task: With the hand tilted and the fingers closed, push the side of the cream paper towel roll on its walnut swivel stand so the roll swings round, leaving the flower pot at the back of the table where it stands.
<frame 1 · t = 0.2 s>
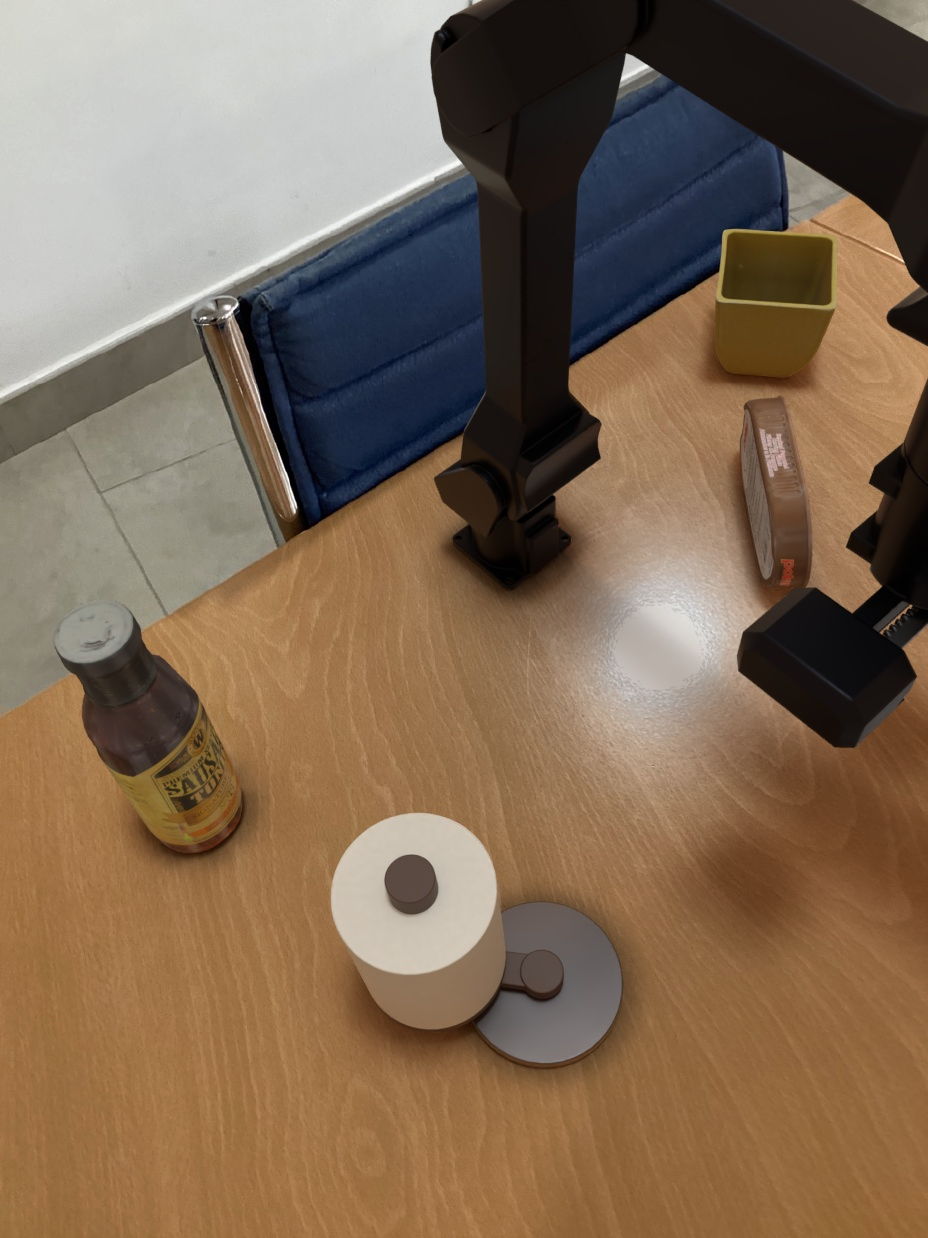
hand: (880, 671, 53), 15 cm above the table, tool pointing down, fingers open, 9 cm apart
sauce bottle: (202, 810, 68), on the table
paper towel roll: (443, 930, 54), point 8 cm above the table, hinge at 0.0°
swivel base: (542, 984, 60), on the table
flower pot: (759, 359, 88), on the table
tin: (763, 531, 78), on the table
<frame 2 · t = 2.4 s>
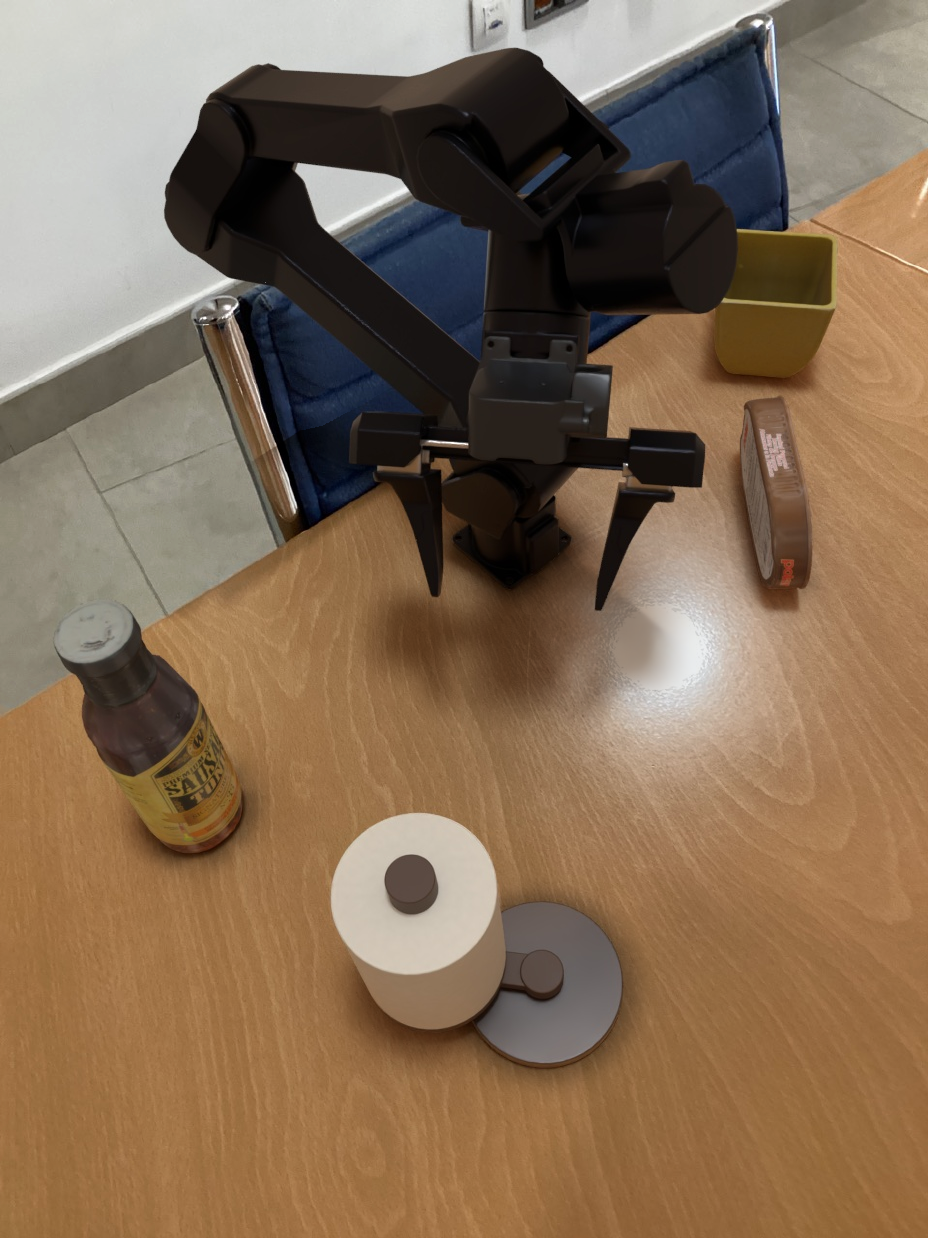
hand: (516, 602, 60), 13 cm above the table, tool tilted 45°, fingers open, 9 cm apart
nothing on the table moved.
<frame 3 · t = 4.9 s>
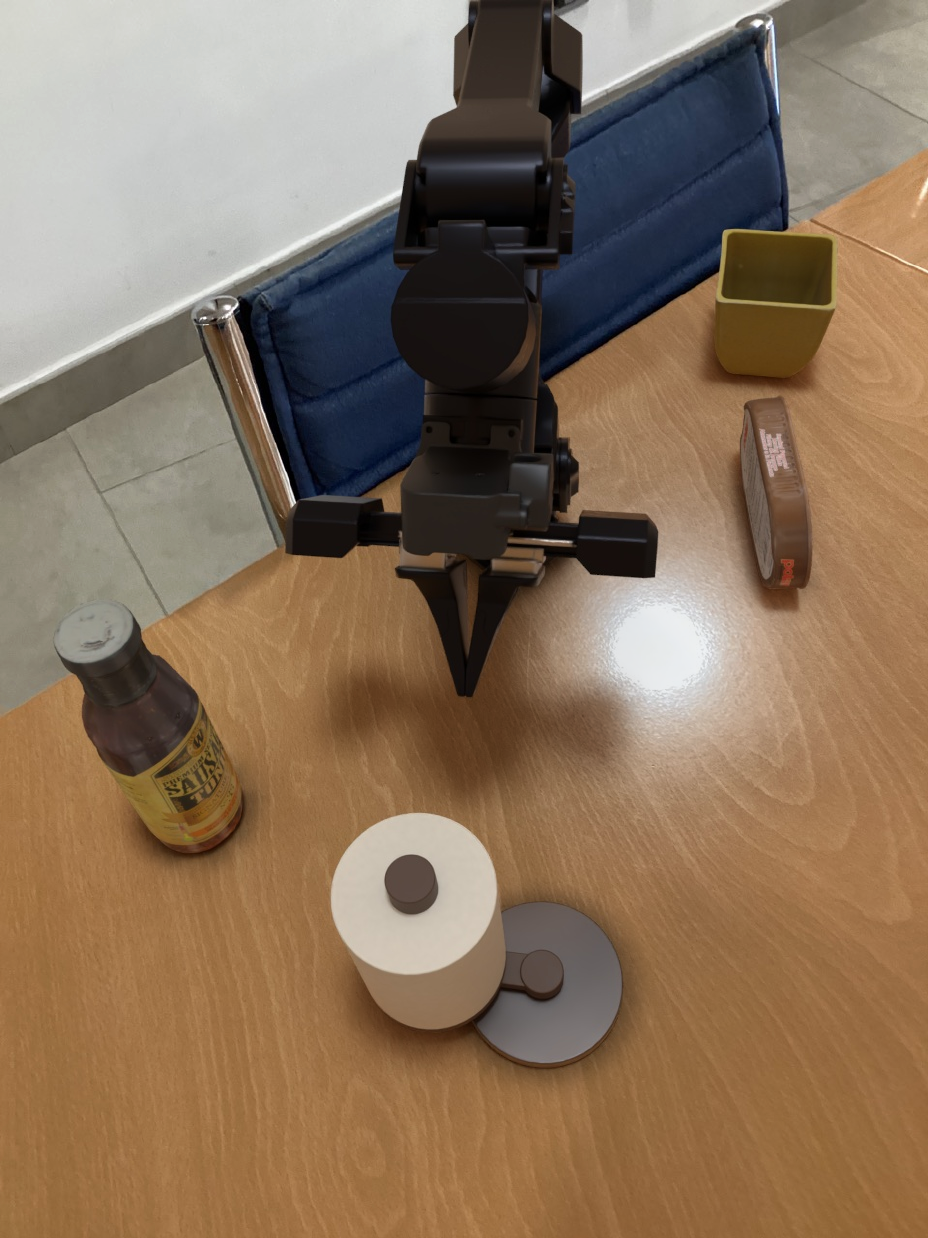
hand: (466, 695, 57), 13 cm above the table, tool tilted 45°, fingers closed
nothing on the table moved.
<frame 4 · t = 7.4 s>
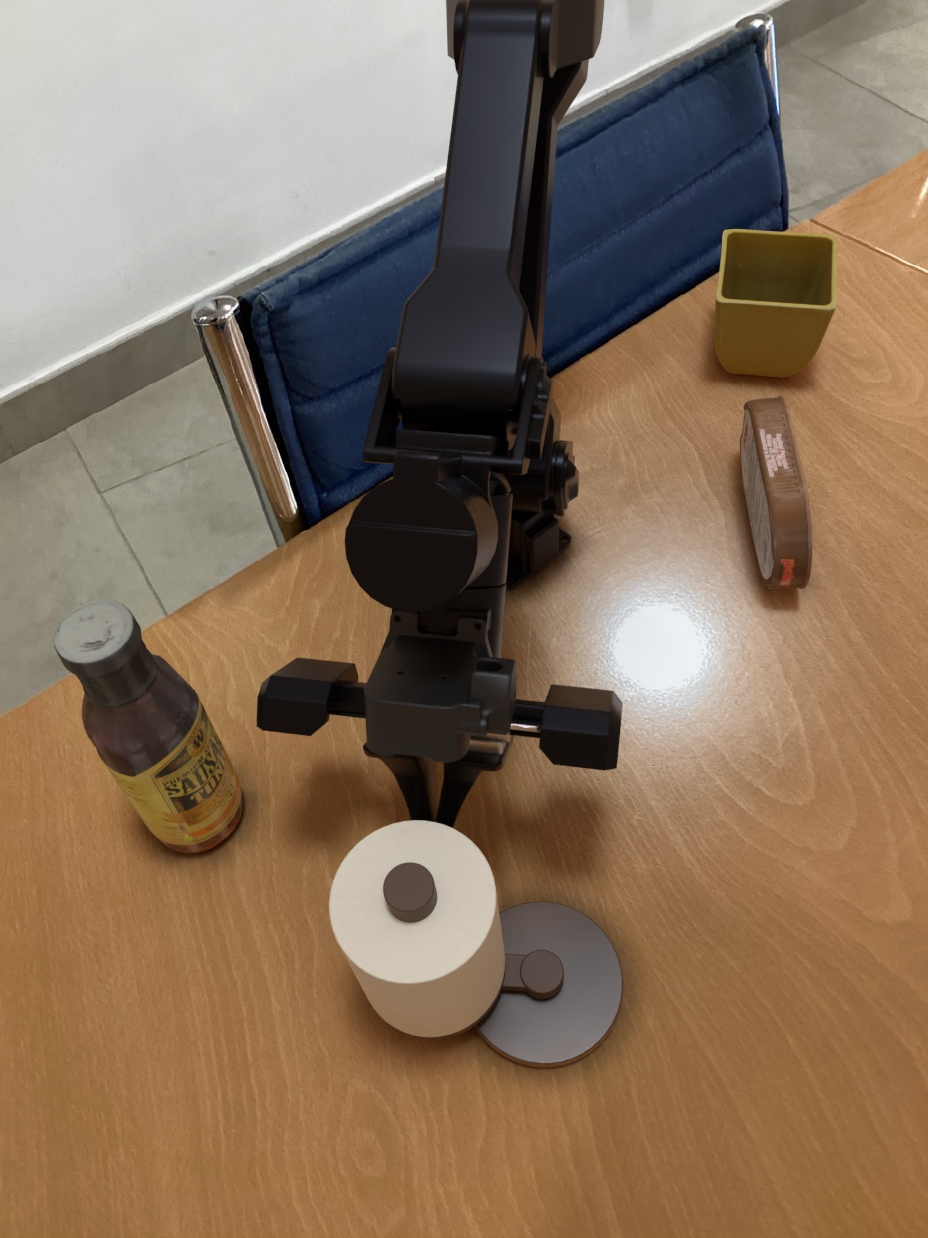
hand: (432, 862, 58), 7 cm above the table, tool tilted 45°, fingers closed, pressing on paper towel roll
paper towel roll: (442, 937, 54), point 8 cm above the table, hinge at 3.8°, touching gripper
everything else where it was.
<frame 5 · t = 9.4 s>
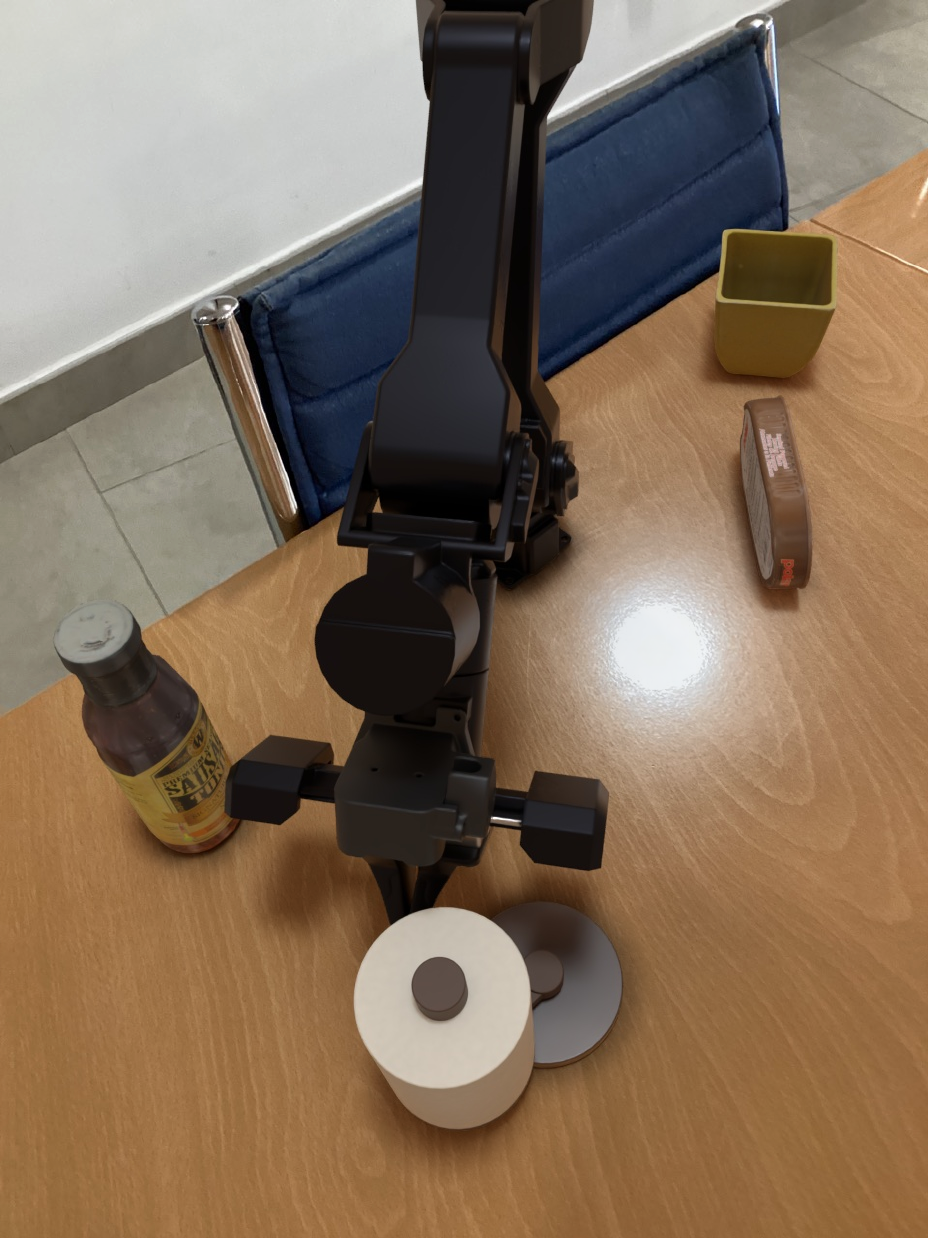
hand: (407, 954, 55), 7 cm above the table, tool tilted 45°, fingers closed
paper towel roll: (469, 1010, 52), point 8 cm above the table, hinge at 49.7°, touching gripper
everything else where it was.
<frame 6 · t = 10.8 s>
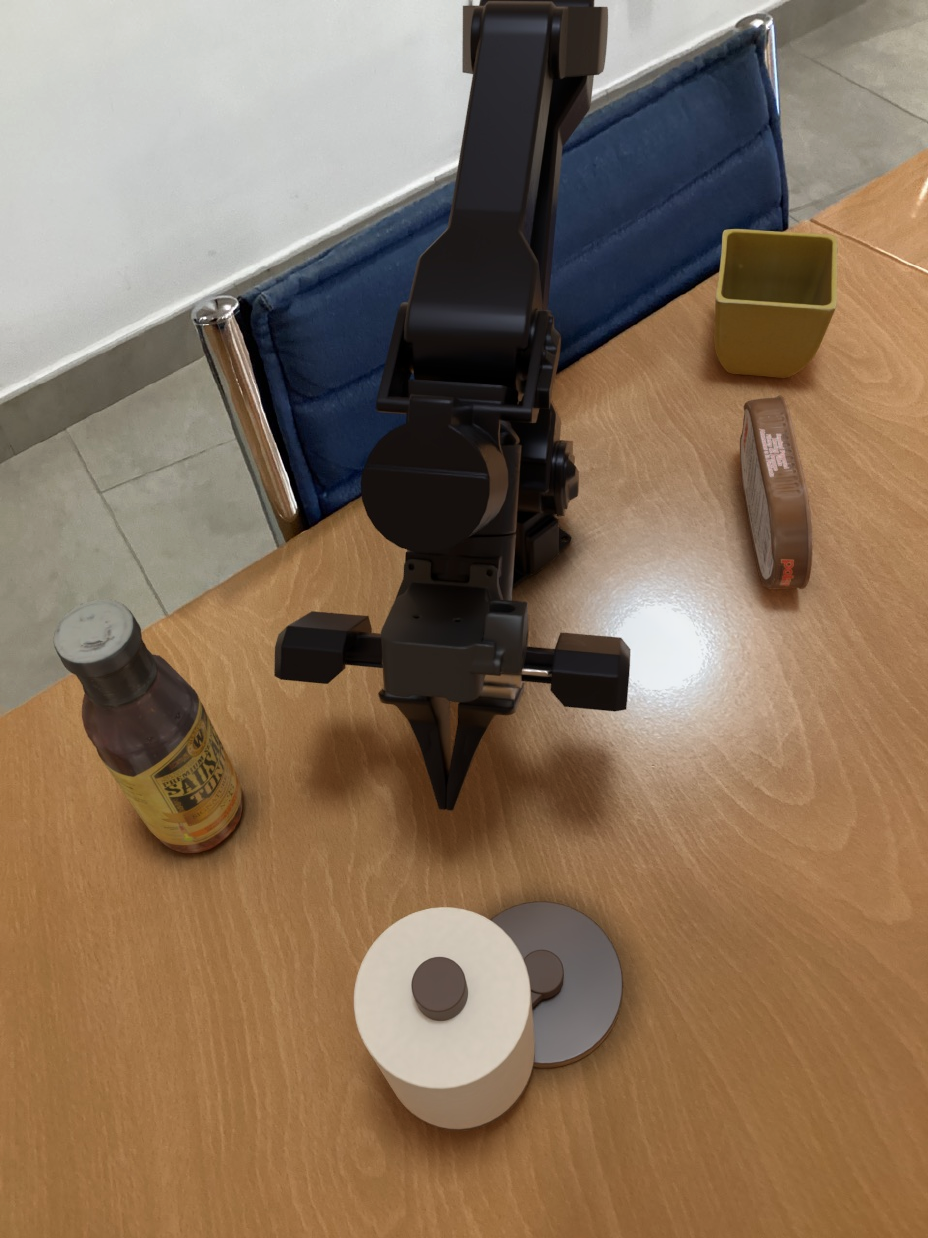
hand: (447, 808, 59), 7 cm above the table, tool tilted 45°, fingers closed
paper towel roll: (469, 1010, 52), point 8 cm above the table, hinge at 49.7°
everything else where it was.
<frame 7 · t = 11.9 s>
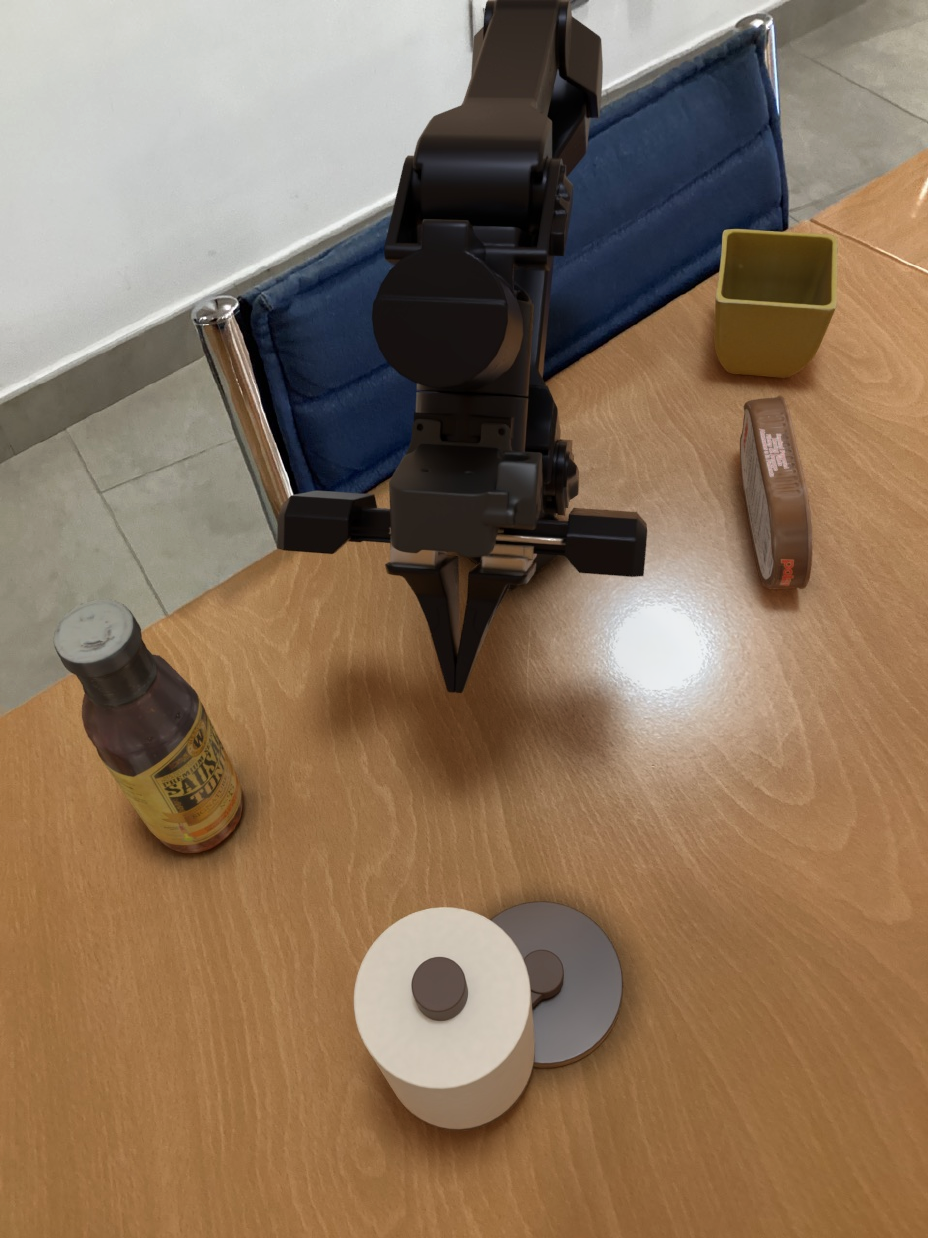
hand: (456, 691, 57), 13 cm above the table, tool tilted 45°, fingers closed
nothing on the table moved.
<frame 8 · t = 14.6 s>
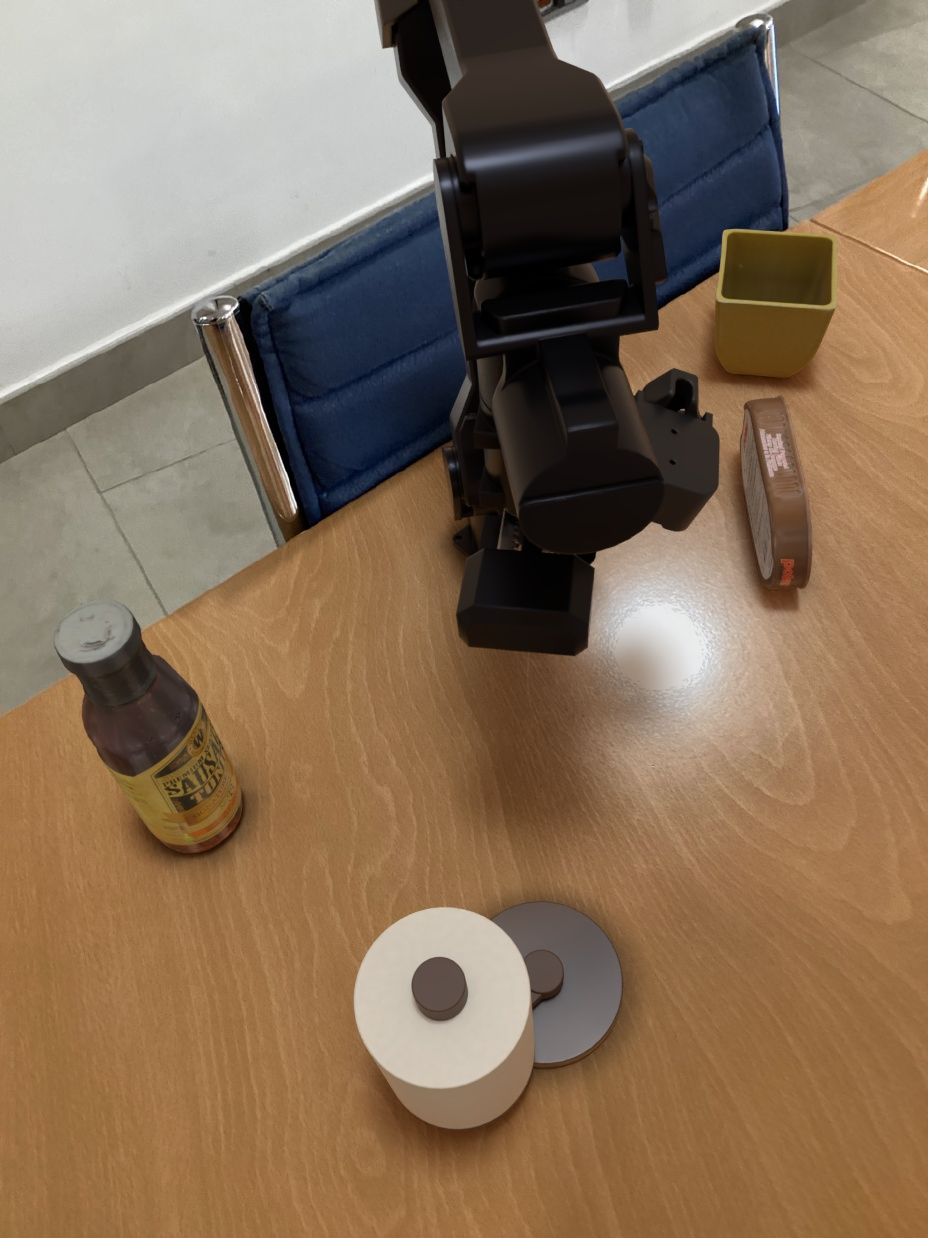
hand: (544, 586, 61), 12 cm above the table, tool pointing down, fingers closed
nothing on the table moved.
at the end: paper towel roll at +50° (first picture: +0°); flower pot moved 0.2 cm from its start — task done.
